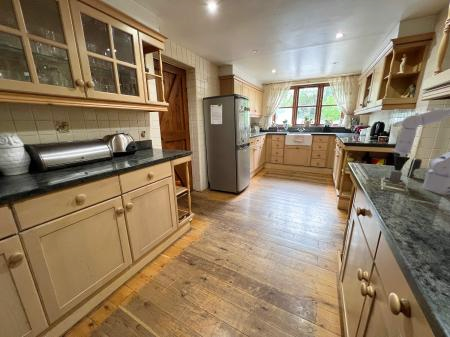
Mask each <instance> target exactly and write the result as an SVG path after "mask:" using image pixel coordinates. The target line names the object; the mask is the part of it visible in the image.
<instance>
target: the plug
mask: <svg viewBox="0 0 450 337" xmlns="http://www.w3.org/2000/svg"><path fill="white" fill-rule="evenodd" d="M402 175H403V172H402V170H401V171H398V170H395V169H391V170H390V173H389V176H388V177H389V180H388V181H392V182H397V183H399V182H400V179H401V178H402ZM401 180H402V179H401Z"/></svg>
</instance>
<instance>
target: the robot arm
mask: <svg viewBox="0 0 450 337" xmlns="http://www.w3.org/2000/svg"><path fill="white" fill-rule="evenodd" d="M448 116H450V107H447V108H439V107H437V108H436V107H433V108H432V107H431V108H429V110H427V111H423V112H420V113H419V112H416V113H415V114H414V115H409V116H406V117H404V119H403V120H402V121H401V122H400V123H401V128H400V131H399V134H398V138H397V141H396V145H395V147H394V149H391V152H393V153H392V155H393V167H394V170H396V171H402V170H403V168H404V166H405V164H406V163H407V162H408V161H409V160H410V159H411V157H410V156H409V155H410V154H411V153H412V151H411V150H412V148H413V144H414V141H415V137H416V135H417V129H418V127H419V126H425V125H430V124H433V123H438V122H441V121H443V120H444V119H445V118H446V117H448ZM428 166H429V167H430V169H429V170H427V172H426V176H425V179H424V181H423V183H422V187H421V188H422V189H424V190H426V191H430V192H433V193H436V194H438V195H450V151H448V152H445V153H444V154H442V155H441V156H438V157H435V158H433V159H431V160H430V161H429V165H428Z"/></svg>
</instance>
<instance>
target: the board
mask: <svg viewBox="0 0 450 337" xmlns="http://www.w3.org/2000/svg"><path fill="white" fill-rule="evenodd" d="M380 180H381V183H380V184H381V186H380V187H381V190H384V191H389V192H394V193H399V194H404V195H409V196H410V191H409V189H408V186H407V183H406V181H405V179H400V182H399V183H397V182H392V181H388V180H389V176H383V177H382V178H381V179H380Z"/></svg>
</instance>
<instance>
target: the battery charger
mask: <svg viewBox="0 0 450 337" xmlns="http://www.w3.org/2000/svg"><path fill="white" fill-rule="evenodd" d="M422 163H423V160H422V159H421V158H417V157H414V158H412V159H411V162H410V165H409V169H408V172H407V175H406V177H407V178H411V179H416V176H415V174H414V173H415V170H420V168H421V167H422Z"/></svg>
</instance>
